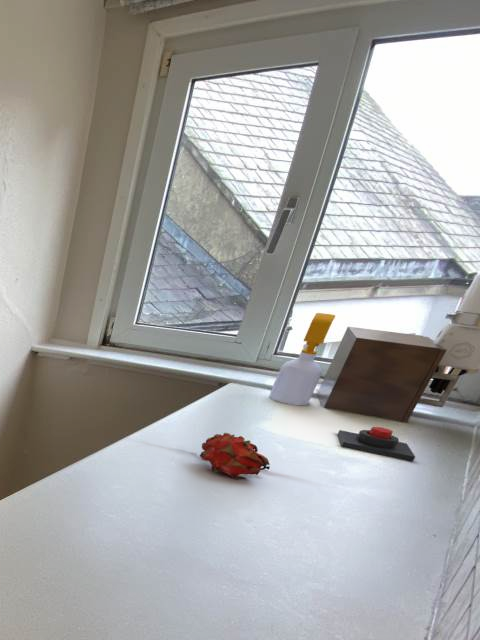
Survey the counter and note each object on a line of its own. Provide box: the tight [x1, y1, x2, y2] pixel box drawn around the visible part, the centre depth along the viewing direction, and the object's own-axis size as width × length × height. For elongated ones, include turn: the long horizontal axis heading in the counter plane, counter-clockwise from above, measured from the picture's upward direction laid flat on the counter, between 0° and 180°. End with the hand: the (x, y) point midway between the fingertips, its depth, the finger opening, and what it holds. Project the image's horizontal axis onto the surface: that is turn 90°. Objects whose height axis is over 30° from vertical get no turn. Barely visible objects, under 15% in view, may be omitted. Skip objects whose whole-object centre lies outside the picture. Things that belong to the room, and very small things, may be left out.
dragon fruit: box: [199, 432, 271, 481], centre depth 107 cm, size 8×8×12 cm
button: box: [369, 426, 394, 439], centre depth 122 cm, size 4×4×2 cm
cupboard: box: [316, 326, 441, 423], centre depth 150 cm, size 16×22×20 cm
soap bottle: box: [268, 312, 336, 406], centre depth 149 cm, size 9×9×25 cm
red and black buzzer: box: [336, 429, 416, 463], centre depth 123 cm, size 12×10×4 cm
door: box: [401, 336, 461, 424], centre depth 144 cm, size 6×22×20 cm, turn 144°
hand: (435, 392), depth 143 cm, fingers closed
